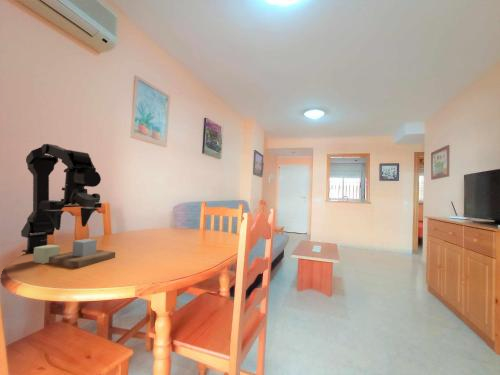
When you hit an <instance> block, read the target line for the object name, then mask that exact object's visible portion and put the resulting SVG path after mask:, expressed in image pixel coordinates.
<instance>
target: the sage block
mask: <svg viewBox="0 0 500 375" xmlns="http://www.w3.org/2000/svg"><path fill="white" fill-rule="evenodd" d="M60 250H61V246H60V245H54V244H47V245H45V246H40V247H34V253H33V257H32V262H33V263H37V264H38V263H39V264H47V263H49V257H50V256H55V255H59V254H60V252H61V251H60Z"/></svg>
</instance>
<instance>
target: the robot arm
mask: <svg viewBox="0 0 500 375" xmlns="http://www.w3.org/2000/svg"><path fill="white" fill-rule="evenodd" d="M59 160H61V163H62V164H63V165H65V166H66V167H67V168H65V169H63V173H65V181H64V187H61V191H64V192H63V198H60V200H50V175H51V174H52V172H53V171H54V170H55V165H56V164H58V163H59ZM25 163H26V164H27V170H28V171H29V172H30V173H31V175H32V178H33V179H32V181H33V182H32V211H31V213H30V214H29V216H28V217H27V220H26V223H25V224H24V226H23V227H22V230H21V231H20V234H21V237H23V238H26V239H27V242H26V249H22V250H21V252H22V253H23V252H24V253H28V254H34V247H40V246H45V245H48V236H53V235H54V233H55V230H56V231H60V229H61V222H62V215H63V213H65V211H64V210H63V209H64V208H76V207H77V208H79V207H80V221H81V226H82V227H86V226H87V224H88V221H89V220H90V218H91V216H92V214H93V213H94V212H95V211H98V210H99V208H102V204H103V203H102V201H101V194H99V193H92V194H91V193H88V189H87V188H85V187H90V188H94V187H97V186H99V184H100V183H101V180H102V178H101V174H100V173H99V172H98V171H96V170H97V168H96V167H95V165H94V164H93V162H92V159H91V156H90V154H89V153H88V152H84V151H83V152H82V151H78V150H77V151H76V150H72V149H66V148H63V147H60V146H59V145H56V144H50V143H43V144H42V145H41V146H40V147H38V148H35V149H33V150H31V151H30V152H29V153H28V155H27V156H26V158H25Z"/></svg>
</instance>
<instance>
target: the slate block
mask: <svg viewBox="0 0 500 375" xmlns="http://www.w3.org/2000/svg"><path fill="white" fill-rule="evenodd" d="M72 241H73V242H72V251H71V252H72V255H74V256H80V257H84V256H88V255H92V254H96V249H97V239H90V238H84V239H79V240H72Z"/></svg>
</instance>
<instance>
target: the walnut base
mask: <svg viewBox="0 0 500 375" xmlns="http://www.w3.org/2000/svg"><path fill="white" fill-rule="evenodd" d="M72 252H73V251H69V252H65V253H59V255H55V256H50V257H49V262H48V263H49V264H54V265H59V266H60V265H61V266H66V267H71V268H76V269H82V268H85V267H88V266H92V265H95V264H98V263H101V262H102V263H103V262H105V261H108V260H111V259H115V258H116V251H114V252H113V251H108V250H102V249H97V248H96V254H92V255H88V256H84V257H80V256H74V255H72Z"/></svg>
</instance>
